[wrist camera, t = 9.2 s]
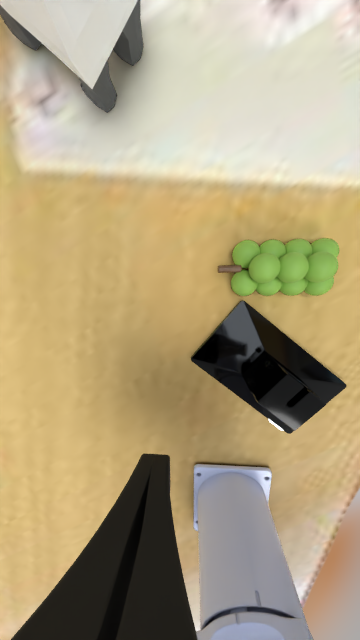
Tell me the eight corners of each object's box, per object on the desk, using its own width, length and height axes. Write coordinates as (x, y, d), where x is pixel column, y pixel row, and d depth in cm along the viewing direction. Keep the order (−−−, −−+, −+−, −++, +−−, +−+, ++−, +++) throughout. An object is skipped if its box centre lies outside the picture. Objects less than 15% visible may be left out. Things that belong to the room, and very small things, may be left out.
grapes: (319, 293, 16) (354, 299, 12) (213, 294, 16) (219, 300, 13) (328, 240, 15) (369, 230, 11) (215, 243, 15) (221, 234, 12)
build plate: (344, 382, 17) (397, 421, 13) (285, 432, 19) (314, 482, 15) (241, 299, 16) (261, 309, 12) (188, 360, 18) (187, 390, 13)
